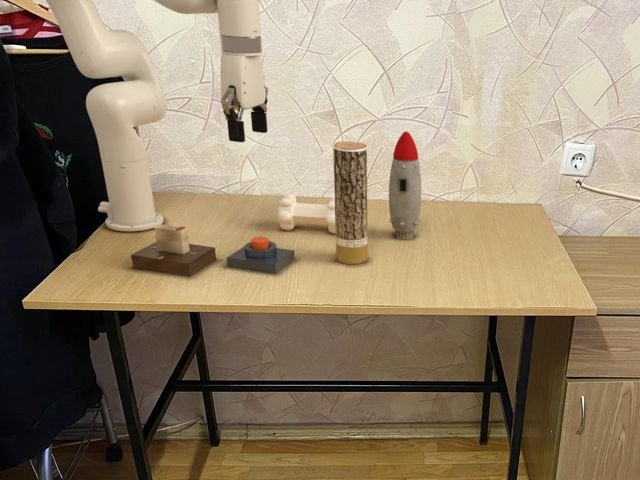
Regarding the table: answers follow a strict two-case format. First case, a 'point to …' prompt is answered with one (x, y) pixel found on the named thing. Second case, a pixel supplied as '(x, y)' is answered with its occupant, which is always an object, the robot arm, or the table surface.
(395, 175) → the toy rocket
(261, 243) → the button
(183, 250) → the beige block
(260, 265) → the button box
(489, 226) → the table surface
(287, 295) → the table surface
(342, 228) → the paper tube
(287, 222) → the dog bone
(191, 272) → the panel
